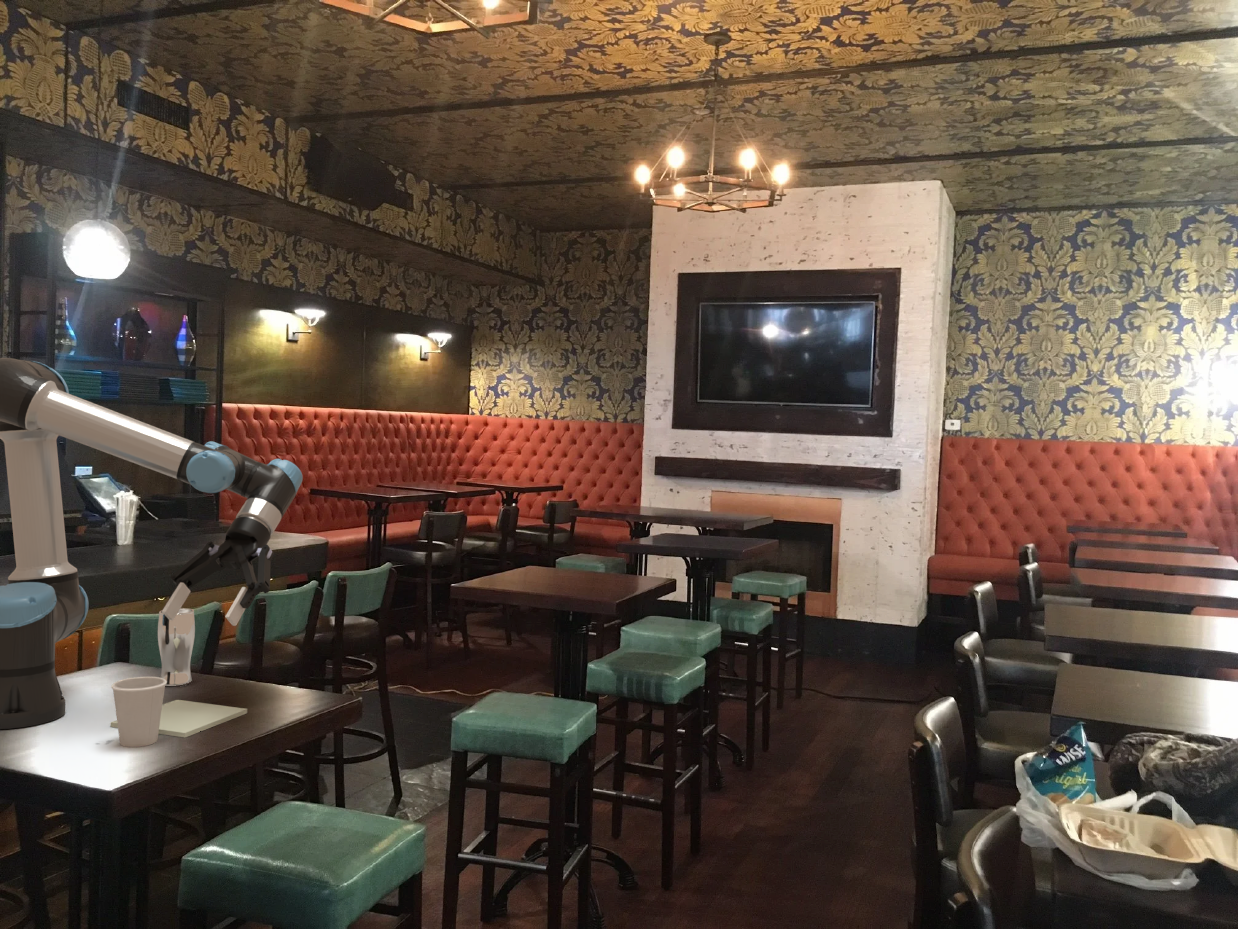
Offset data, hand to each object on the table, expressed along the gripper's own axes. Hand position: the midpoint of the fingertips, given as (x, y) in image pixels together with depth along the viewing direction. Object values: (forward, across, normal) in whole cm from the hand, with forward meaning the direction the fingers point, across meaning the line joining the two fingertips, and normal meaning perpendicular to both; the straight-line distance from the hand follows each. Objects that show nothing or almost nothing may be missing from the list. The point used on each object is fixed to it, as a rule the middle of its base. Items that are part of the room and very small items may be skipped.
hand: (198, 618), depth 177 cm
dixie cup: (+22, +1, -4) cm, 23 cm away
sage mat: (+13, +4, -13) cm, 19 cm away
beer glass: (-1, +23, -28) cm, 36 cm away
